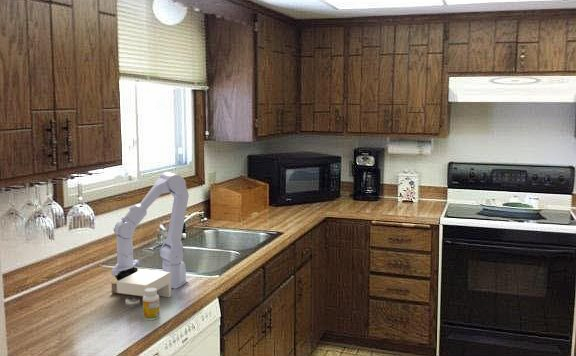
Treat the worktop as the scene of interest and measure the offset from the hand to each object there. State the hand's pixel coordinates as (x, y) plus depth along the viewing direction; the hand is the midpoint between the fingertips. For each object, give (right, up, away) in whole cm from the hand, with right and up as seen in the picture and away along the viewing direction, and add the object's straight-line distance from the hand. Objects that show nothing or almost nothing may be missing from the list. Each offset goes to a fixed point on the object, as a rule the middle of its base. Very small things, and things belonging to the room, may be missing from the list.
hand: (126, 288), depth 216 cm
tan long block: (+2, -2, -1) cm, 3 cm away
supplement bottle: (+15, -5, -23) cm, 28 cm away
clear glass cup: (+5, -4, -10) cm, 12 cm away
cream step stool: (+9, -3, -7) cm, 12 cm away
